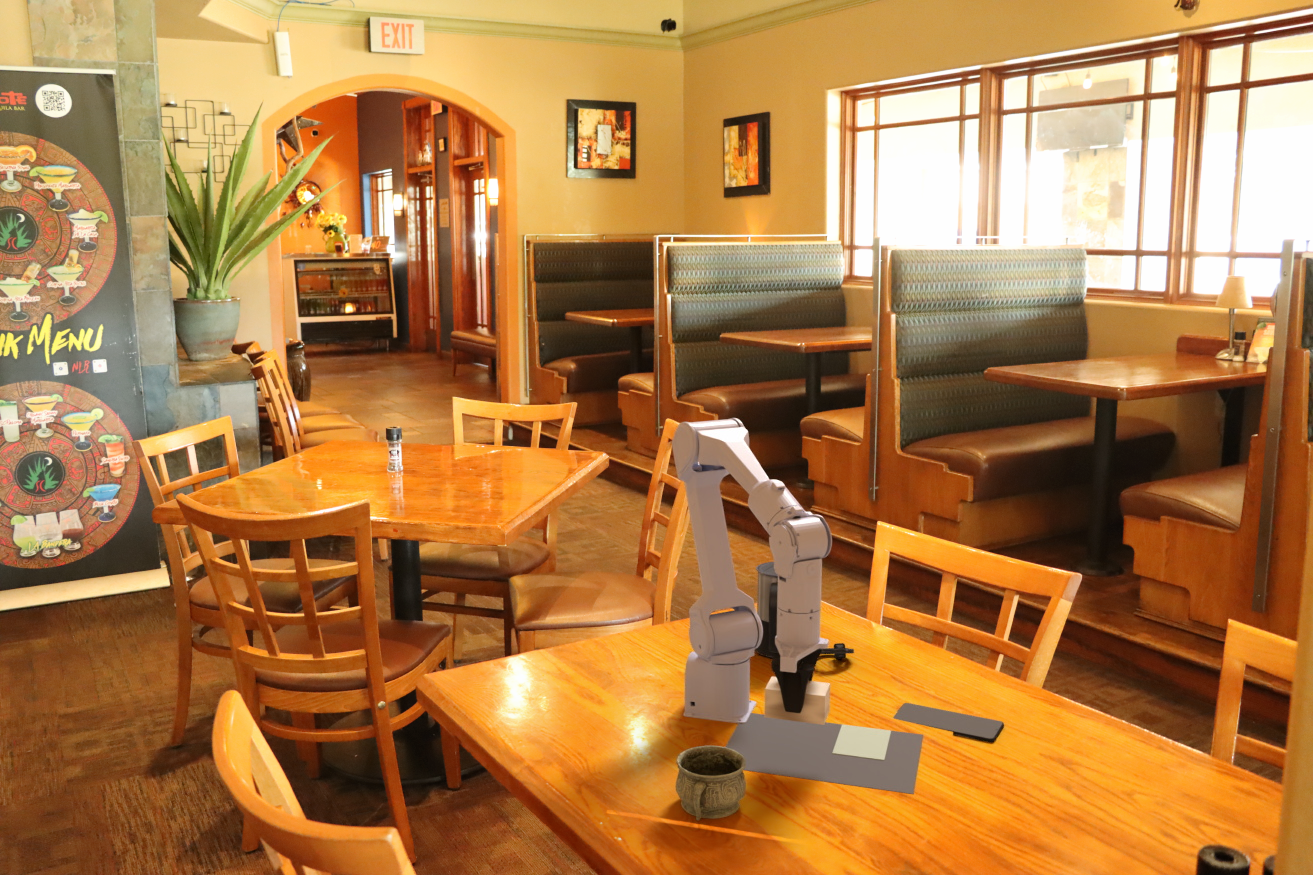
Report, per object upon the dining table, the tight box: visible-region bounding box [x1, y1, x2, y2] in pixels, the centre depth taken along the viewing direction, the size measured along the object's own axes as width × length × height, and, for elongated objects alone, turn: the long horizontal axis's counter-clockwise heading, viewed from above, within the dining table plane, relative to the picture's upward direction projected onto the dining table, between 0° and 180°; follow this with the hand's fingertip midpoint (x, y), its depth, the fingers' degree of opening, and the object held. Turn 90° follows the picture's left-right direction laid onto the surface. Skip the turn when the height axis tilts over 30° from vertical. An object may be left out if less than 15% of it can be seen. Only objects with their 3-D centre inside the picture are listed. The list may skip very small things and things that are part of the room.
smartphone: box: [893, 702, 1005, 744], centre depth 161 cm, size 7×1×15 cm
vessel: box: [674, 745, 747, 821], centre depth 136 cm, size 12×9×6 cm
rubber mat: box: [724, 712, 924, 795], centre depth 151 cm, size 26×18×1 cm
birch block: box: [763, 676, 831, 725], centre depth 147 cm, size 8×4×4 cm, turn 73°
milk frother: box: [754, 561, 855, 660], centre depth 186 cm, size 14×16×15 cm
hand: (796, 703), depth 147 cm, fingers closed on birch block, 4 cm apart
